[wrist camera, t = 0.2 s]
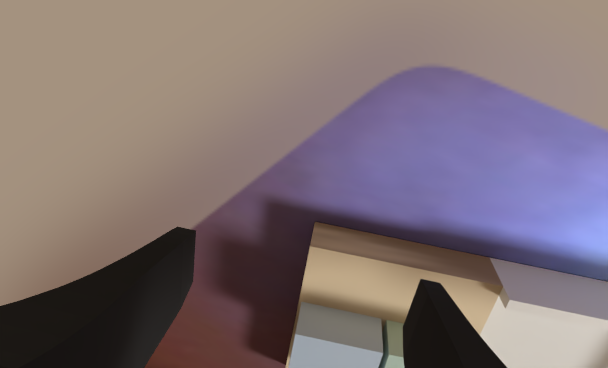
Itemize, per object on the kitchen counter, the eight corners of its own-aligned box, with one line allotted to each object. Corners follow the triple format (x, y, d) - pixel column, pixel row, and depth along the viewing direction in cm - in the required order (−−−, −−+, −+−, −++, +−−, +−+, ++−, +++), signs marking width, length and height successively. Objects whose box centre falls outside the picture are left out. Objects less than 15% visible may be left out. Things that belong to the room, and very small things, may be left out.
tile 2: (363, 373, 24) (363, 410, 22) (290, 357, 25) (283, 392, 23) (381, 318, 22) (383, 353, 20) (301, 301, 23) (295, 333, 21)
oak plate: (427, 396, 28) (433, 431, 26) (286, 365, 29) (279, 397, 26) (489, 257, 23) (503, 286, 21) (314, 221, 23) (309, 246, 21)
